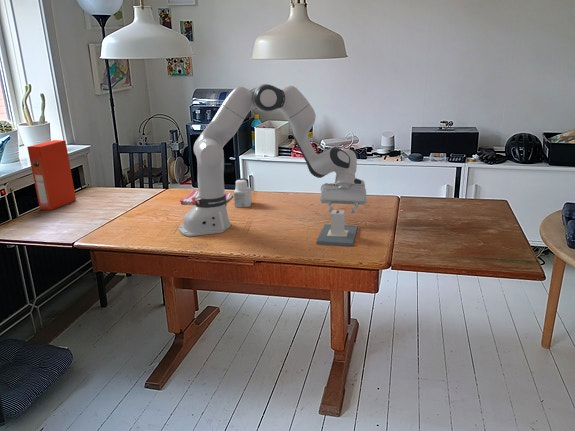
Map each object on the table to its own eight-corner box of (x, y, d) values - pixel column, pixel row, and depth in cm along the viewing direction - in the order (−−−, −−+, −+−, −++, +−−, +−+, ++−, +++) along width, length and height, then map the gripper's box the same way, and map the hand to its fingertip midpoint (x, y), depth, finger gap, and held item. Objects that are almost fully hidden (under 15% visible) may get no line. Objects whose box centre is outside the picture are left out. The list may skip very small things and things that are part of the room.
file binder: (39, 209, 256) (27, 146, 246) (63, 199, 272) (53, 140, 261) (52, 210, 254) (40, 147, 243) (76, 200, 269) (65, 140, 259)
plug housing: (332, 230, 210) (332, 209, 207) (344, 231, 209) (344, 210, 206) (330, 234, 206) (330, 213, 203) (343, 235, 205) (343, 213, 202)
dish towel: (192, 195, 273) (191, 189, 272) (233, 197, 268) (233, 190, 267) (179, 205, 257) (178, 198, 256) (223, 206, 252) (222, 200, 251)
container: (236, 202, 257) (235, 177, 252) (251, 202, 256) (250, 177, 252) (234, 207, 249) (232, 181, 245) (250, 206, 249) (248, 181, 245)
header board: (324, 226, 219) (324, 218, 218) (357, 228, 216) (357, 220, 214) (316, 243, 200) (316, 235, 199) (352, 246, 197) (352, 237, 196)
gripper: (320, 179, 223) (317, 207, 217) (367, 181, 218) (365, 209, 212) (322, 186, 228) (318, 214, 223) (368, 188, 224) (366, 216, 218)
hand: (341, 212), depth 217 cm, fingers open, 8 cm apart
